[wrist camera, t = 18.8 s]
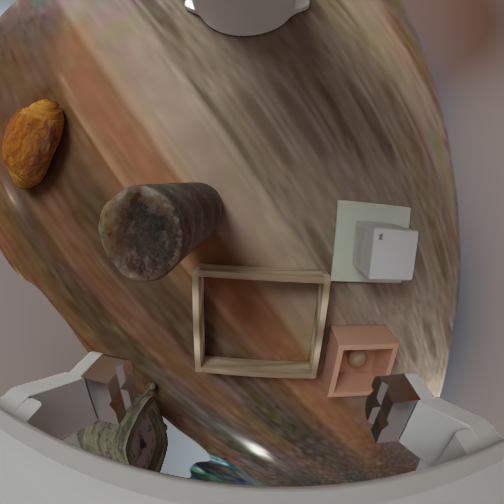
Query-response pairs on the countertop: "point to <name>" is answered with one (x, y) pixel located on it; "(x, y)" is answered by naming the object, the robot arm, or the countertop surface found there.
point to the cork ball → (356, 358)
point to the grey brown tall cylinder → (157, 226)
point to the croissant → (32, 141)
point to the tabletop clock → (131, 435)
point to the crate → (251, 365)
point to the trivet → (346, 235)
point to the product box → (384, 250)
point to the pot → (357, 338)
